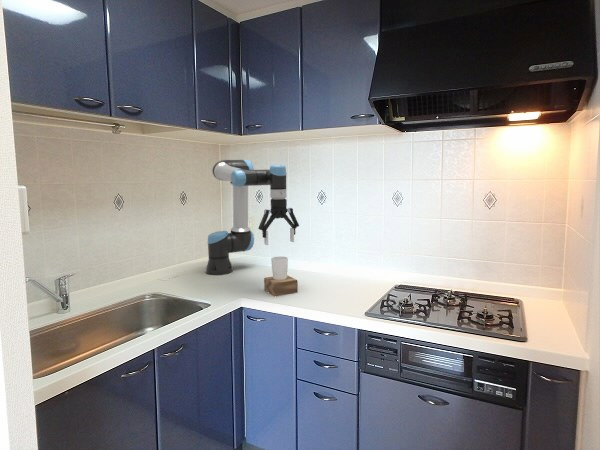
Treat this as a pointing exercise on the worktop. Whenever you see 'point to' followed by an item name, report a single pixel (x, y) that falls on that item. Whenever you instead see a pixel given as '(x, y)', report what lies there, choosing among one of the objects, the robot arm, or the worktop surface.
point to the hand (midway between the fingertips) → (279, 243)
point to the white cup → (279, 267)
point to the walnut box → (280, 286)
